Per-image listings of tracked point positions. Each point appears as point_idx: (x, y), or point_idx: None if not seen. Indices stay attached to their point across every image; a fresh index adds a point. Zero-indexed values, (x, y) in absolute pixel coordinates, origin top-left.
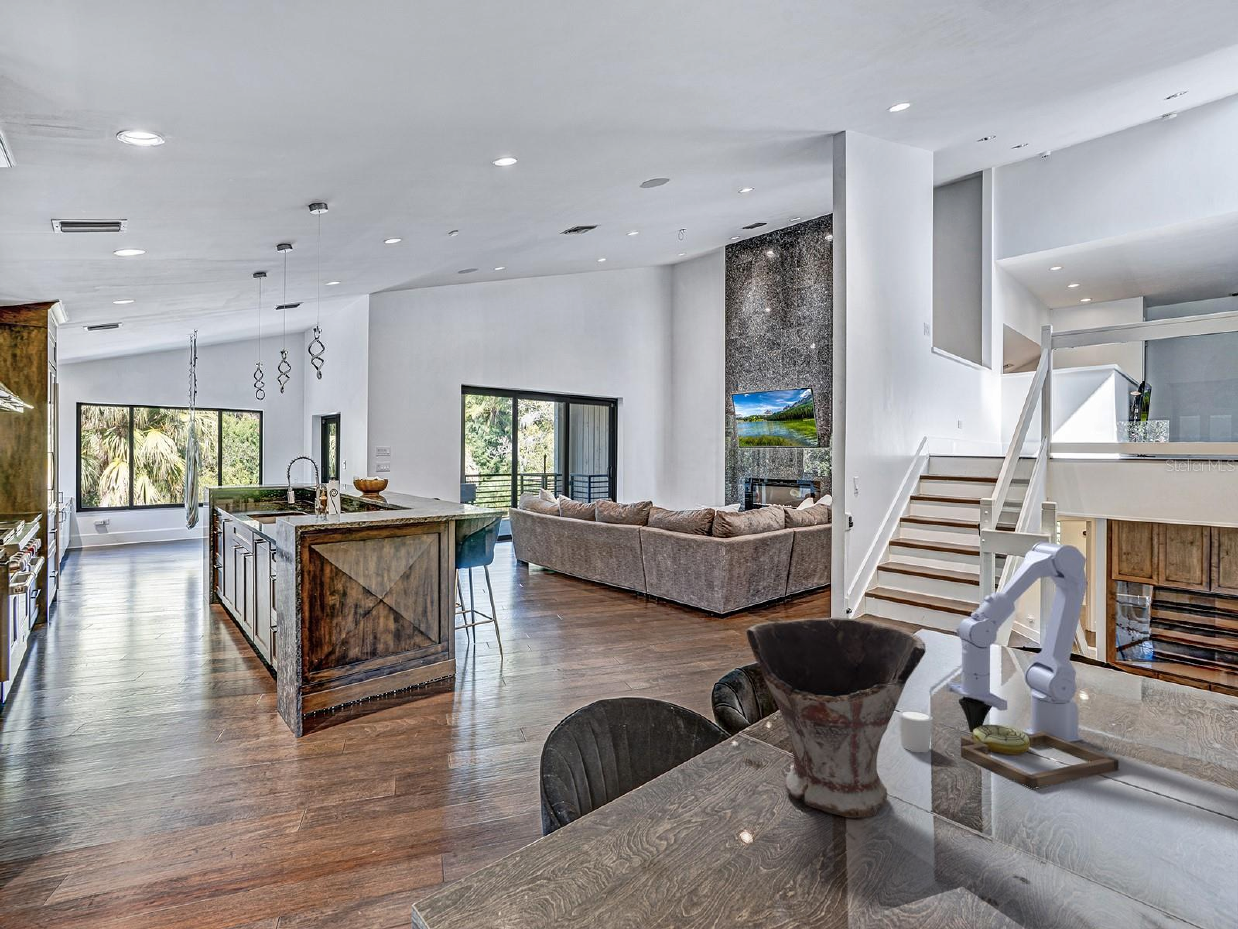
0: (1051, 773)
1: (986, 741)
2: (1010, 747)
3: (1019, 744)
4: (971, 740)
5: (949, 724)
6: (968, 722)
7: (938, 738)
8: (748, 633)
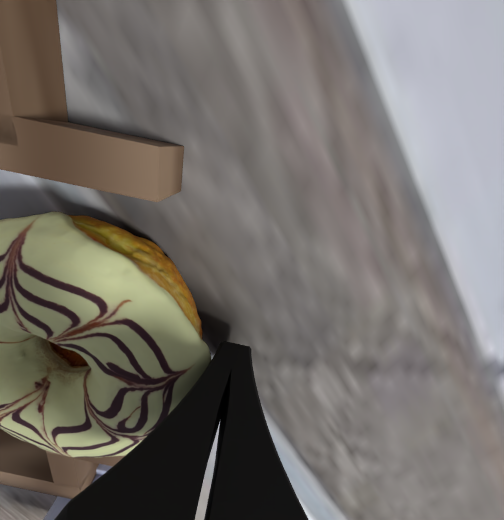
0: None
1: (23, 219)
2: None
3: None
4: (80, 155)
5: (393, 390)
6: (246, 383)
7: (343, 151)
8: None
